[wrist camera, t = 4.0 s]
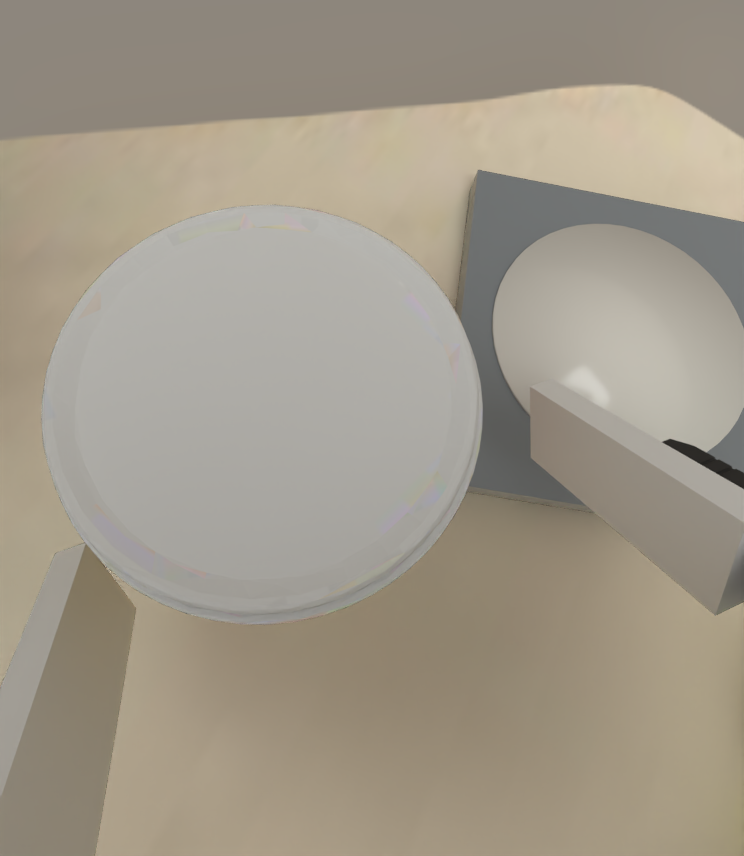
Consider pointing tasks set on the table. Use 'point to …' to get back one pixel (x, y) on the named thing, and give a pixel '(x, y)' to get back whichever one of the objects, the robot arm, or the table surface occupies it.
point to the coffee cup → (262, 414)
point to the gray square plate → (599, 322)
